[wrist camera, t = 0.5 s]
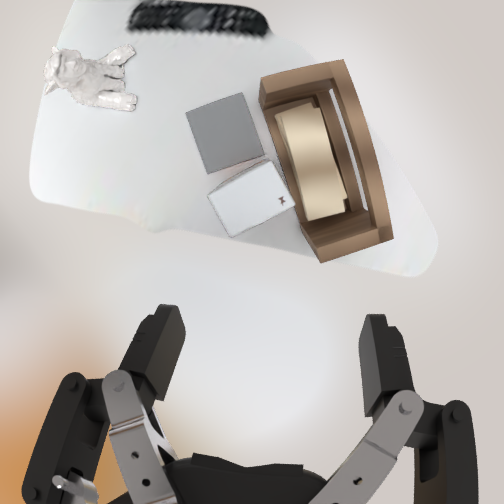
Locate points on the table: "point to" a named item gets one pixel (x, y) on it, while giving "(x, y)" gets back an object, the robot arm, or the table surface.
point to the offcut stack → (312, 161)
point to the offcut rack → (355, 216)
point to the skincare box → (250, 198)
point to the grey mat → (224, 133)
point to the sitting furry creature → (91, 78)
